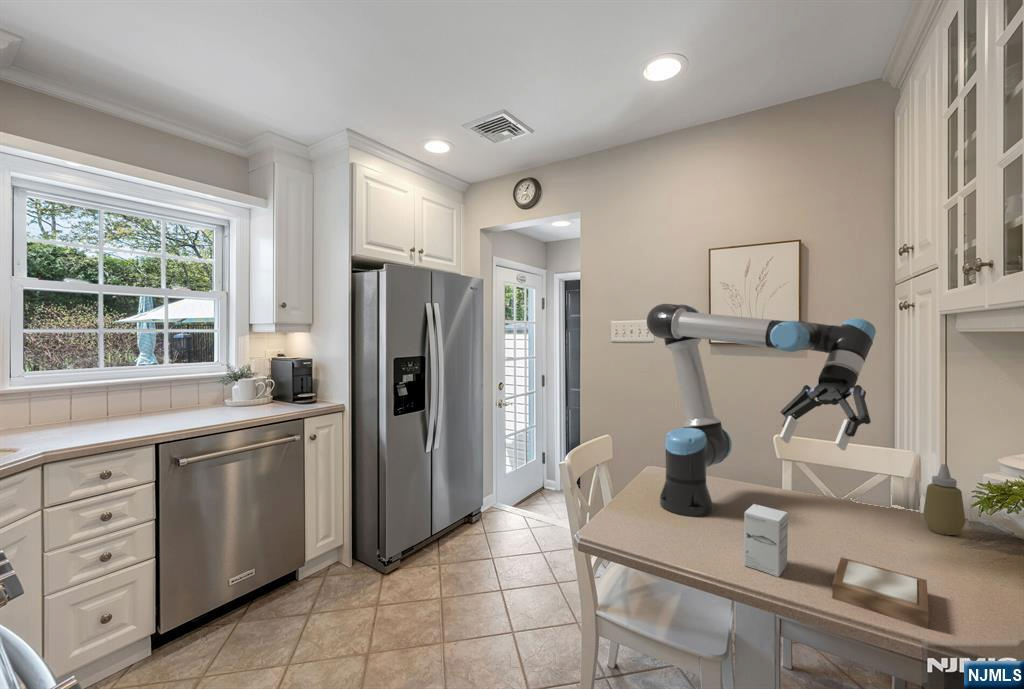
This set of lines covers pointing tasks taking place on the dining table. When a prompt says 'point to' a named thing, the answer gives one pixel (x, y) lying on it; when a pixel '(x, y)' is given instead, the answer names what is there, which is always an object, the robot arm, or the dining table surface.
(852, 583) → the picture frame
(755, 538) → the supplement box
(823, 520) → the dining table surface
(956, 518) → the squeeze bottle
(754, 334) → the robot arm
